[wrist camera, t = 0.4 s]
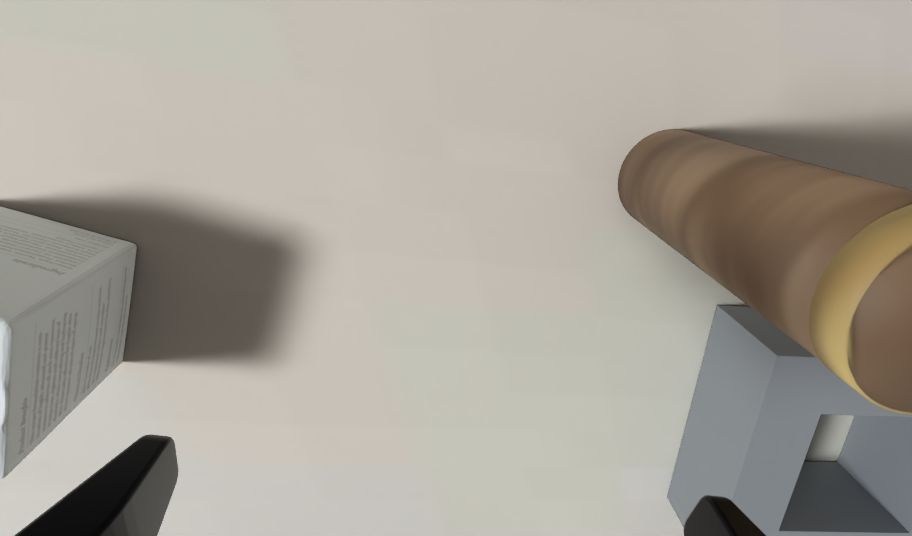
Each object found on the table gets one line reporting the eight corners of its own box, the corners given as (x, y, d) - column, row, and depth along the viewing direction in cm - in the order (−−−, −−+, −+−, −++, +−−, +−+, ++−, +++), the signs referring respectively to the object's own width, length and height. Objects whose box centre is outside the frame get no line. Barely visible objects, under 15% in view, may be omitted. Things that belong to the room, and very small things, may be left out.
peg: (703, 229, 23) (1011, 418, 11) (609, 224, 23) (815, 412, 10) (726, 131, 21) (1113, 219, 9) (626, 124, 21) (889, 206, 9)
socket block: (866, 500, 29) (941, 575, 25) (667, 496, 28) (708, 573, 24) (946, 315, 25) (1051, 366, 21) (716, 305, 24) (777, 355, 20)
